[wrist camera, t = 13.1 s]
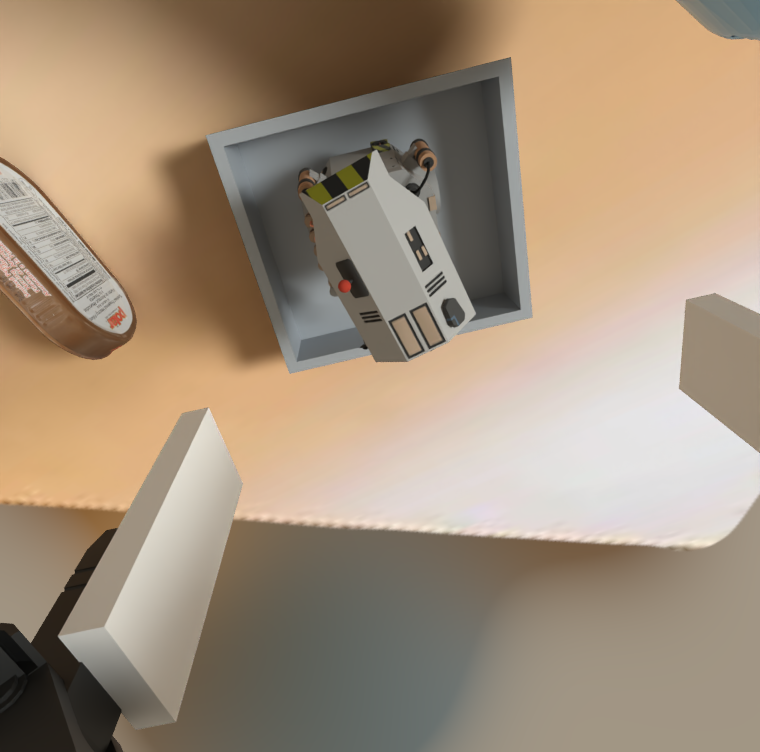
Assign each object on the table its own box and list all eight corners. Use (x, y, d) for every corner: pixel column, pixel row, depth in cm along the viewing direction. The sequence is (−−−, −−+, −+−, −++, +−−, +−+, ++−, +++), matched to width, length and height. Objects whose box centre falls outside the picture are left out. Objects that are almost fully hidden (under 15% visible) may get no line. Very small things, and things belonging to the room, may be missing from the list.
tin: (-27, 160, 34) (-132, 170, 26) (7, 135, 33) (-90, 139, 26) (127, 334, 40) (78, 383, 33) (158, 316, 40) (115, 361, 32)
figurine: (337, 309, 40) (333, 405, 26) (294, 157, 34) (263, 180, 21) (448, 283, 39) (501, 367, 26) (422, 125, 34) (473, 128, 21)
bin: (223, 133, 34) (205, 135, 30) (488, 65, 33) (510, 57, 29) (295, 346, 42) (289, 373, 37) (512, 296, 41) (532, 317, 36)
